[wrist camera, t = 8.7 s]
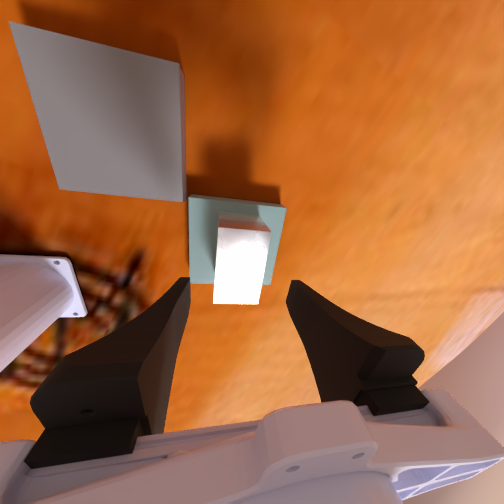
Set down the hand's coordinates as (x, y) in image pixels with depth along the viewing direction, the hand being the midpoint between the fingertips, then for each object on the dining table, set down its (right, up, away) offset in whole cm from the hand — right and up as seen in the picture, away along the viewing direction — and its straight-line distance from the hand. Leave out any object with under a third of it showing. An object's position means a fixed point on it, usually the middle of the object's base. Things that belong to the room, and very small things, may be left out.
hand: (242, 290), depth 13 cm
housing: (-1, +3, +6) cm, 7 cm away
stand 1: (-10, +13, +3) cm, 16 cm away
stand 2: (-1, +4, +8) cm, 9 cm away
